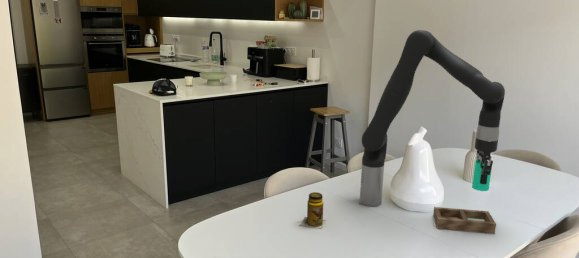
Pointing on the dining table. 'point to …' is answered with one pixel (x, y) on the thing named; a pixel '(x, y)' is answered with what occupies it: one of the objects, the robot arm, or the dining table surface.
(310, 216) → the condiment
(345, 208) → the dining table surface
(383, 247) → the dining table surface
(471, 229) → the slot rack
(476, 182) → the candle
